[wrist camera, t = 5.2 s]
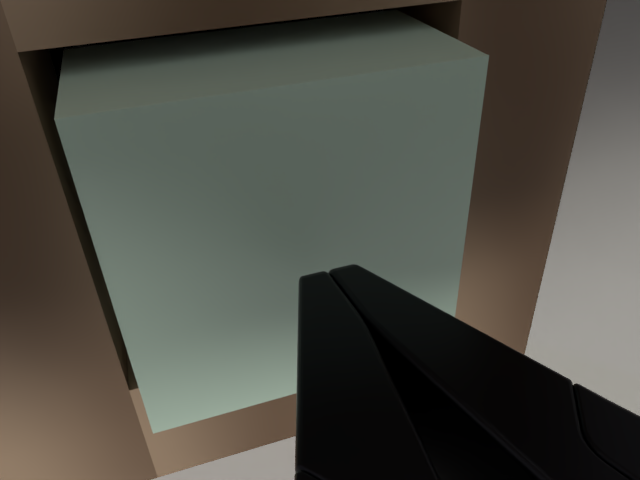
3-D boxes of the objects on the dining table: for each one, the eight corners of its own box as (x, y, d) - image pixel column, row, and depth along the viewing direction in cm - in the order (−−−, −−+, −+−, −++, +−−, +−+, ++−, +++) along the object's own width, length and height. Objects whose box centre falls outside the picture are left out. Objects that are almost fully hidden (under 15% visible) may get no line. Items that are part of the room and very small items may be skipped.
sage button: (396, 10, 10) (489, 55, 8) (386, 262, 13) (450, 349, 11) (63, 48, 9) (53, 118, 6) (140, 319, 12) (152, 433, 10)
